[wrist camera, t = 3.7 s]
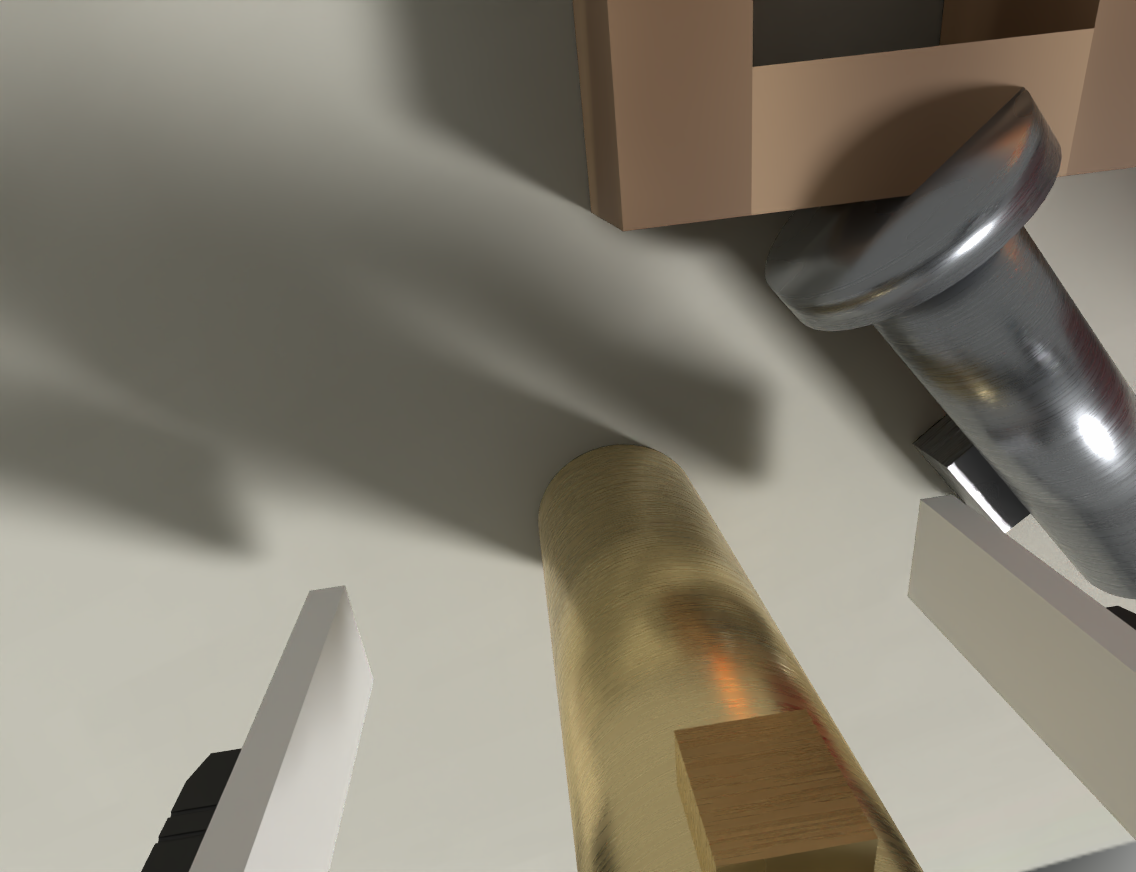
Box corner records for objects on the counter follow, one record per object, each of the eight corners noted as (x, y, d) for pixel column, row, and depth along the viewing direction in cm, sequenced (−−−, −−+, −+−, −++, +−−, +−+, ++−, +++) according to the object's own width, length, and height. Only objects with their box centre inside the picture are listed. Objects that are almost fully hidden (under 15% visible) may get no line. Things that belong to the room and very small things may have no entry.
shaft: (726, 267, 15) (838, 321, 10) (895, 97, 14) (1114, 64, 9) (979, 545, 19) (1148, 681, 14) (1125, 430, 18) (1364, 534, 13)
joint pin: (693, 405, 17) (1075, 889, 6) (699, 593, 19) (974, 1186, 8) (523, 428, 16) (578, 979, 5) (551, 616, 19) (628, 1257, 8)
